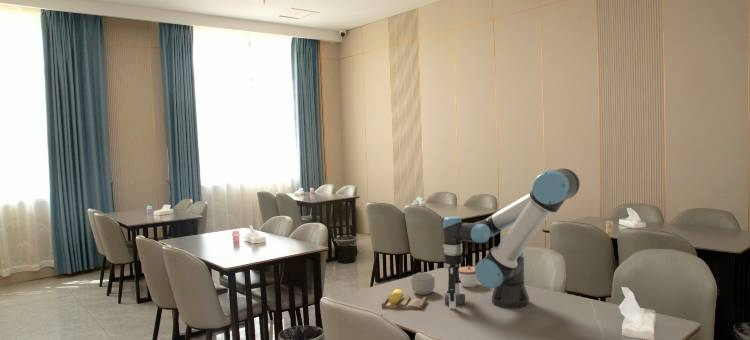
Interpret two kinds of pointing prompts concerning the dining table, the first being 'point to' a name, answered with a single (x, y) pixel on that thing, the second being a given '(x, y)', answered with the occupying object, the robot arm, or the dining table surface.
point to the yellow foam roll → (395, 296)
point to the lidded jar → (468, 276)
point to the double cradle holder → (405, 303)
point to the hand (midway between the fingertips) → (454, 303)
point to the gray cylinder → (459, 299)
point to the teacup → (423, 283)
